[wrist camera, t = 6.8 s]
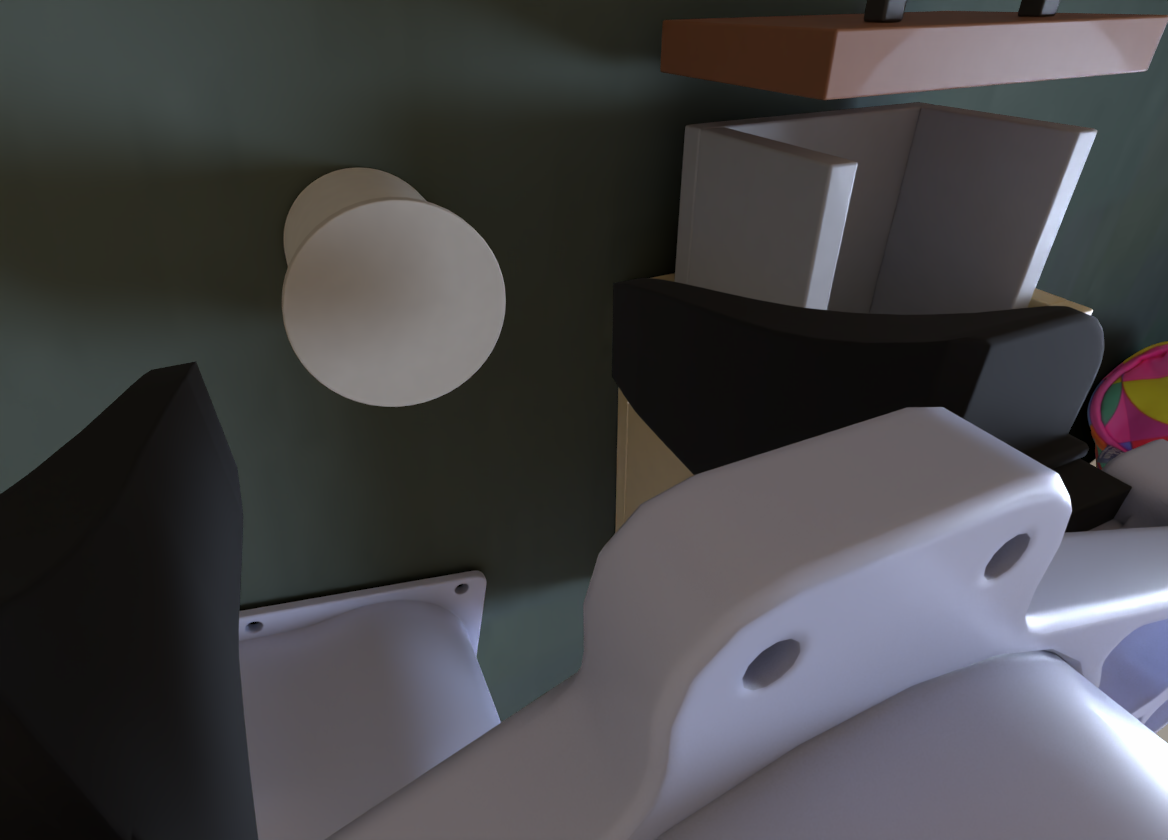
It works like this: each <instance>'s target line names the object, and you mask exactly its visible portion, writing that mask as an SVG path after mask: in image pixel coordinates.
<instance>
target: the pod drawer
mask: <svg viewBox="0 0 1168 840" xmlns="http://www.w3.org/2000/svg"><path fill="white" fill-rule="evenodd" d="M906 1H907V0H867V3H866V9H865V14H836V15H804V16H772V17H740V18H708V19H676V20H664V21H663V26H662V47H661V68H660V70H661V72H663V73H669V74H675V75H680V76H686V77H692V78H698V79H704V80H709V81H715V82H721V83H727V84H733V85H739V86H744V87H750V88H756V89H762V90H768V91H773V92H779V93H785V94H791V95H797V96H803V97H808V98H814V99H820V100H832V99H844V98H855V97H866V96H877V95H888V94H899V93H910V92H922V91H933V90H944V89H955V88H966V87H977V86H989V85H1000V84H1011V83H1022V82H1033V81H1044V80H1055V79H1067V78H1078V77H1089V76H1100V75H1111V74H1122V73H1133V72H1144V71H1147V69H1148V67H1149V65H1150V62H1151V60H1152V58H1153V55H1154V53H1155V50H1156V48H1157V45H1158V43H1159V41H1160V38H1161V36H1162V33H1163V31H1164V29H1165V26H1166V24H1167V21H1168V15H1137V14H1083V13H1056V11H1057V8H1058V5H1059V2H1060V0H1022V2H1021V5H1020V8H1019V11H1018V12H976V11H933V12H904V10H905V6H906ZM1096 133H1097V130H1096V129H1093V128H1086V127H1079V126H1073V125H1066V124H1060V123H1053V122H1046V121H1040V120H1033V119H1026V118H1020V117H1013V116H1007V115H1000V114H993V113H987V112H980V111H974V110H967V109H960V108H954V107H947V106H941V105H936V106H935V105H933V104H927V103H920V102H916V103H905V104H895V105H885V106H874V107H864V108H854V109H844V110H833V111H823V112H813V113H803V114H792V115H782V116H772V117H761V118H751V119H741V120H731V121H720V122H710V123H700V124H690V125H687V126H686V127H685V137H684V151H683V166H682V180H681V195H680V209H679V223H678V238H677V252H676V267H675V281H674V282H678V283H683V284H688V285H692V286H697V287H702V288H706V289H710V290H715V291H719V292H724V293H728V294H733V295H737V296H742V297H747V298H752V299H757V300H762V301H768V302H773V303H779V304H784V305H790V306H797V307H804V308H812V309H821V310H830V311H840V312H852V313H870V314H899V315H925V314H956V313H977V312H989V311H999V310H1010V309H1020V308H1027V307H1028V305H1029V302H1030V300H1031V297H1032V295H1033V292H1034V290H1035V287H1036V285H1037V282H1038V280H1039V277H1040V274H1041V272H1042V269H1043V267H1044V264H1045V262H1046V259H1047V257H1048V254H1049V252H1050V249H1051V247H1052V244H1053V242H1054V239H1055V237H1056V234H1057V232H1058V229H1059V227H1060V224H1061V221H1062V219H1063V216H1064V214H1065V211H1066V209H1067V206H1068V204H1069V201H1070V199H1071V196H1072V194H1073V191H1074V189H1075V186H1076V184H1077V181H1078V179H1079V176H1080V174H1081V171H1082V168H1083V166H1084V163H1085V161H1086V158H1087V156H1088V153H1089V151H1090V148H1091V146H1092V143H1093V141H1094V138H1095V136H1096Z"/></svg>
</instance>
